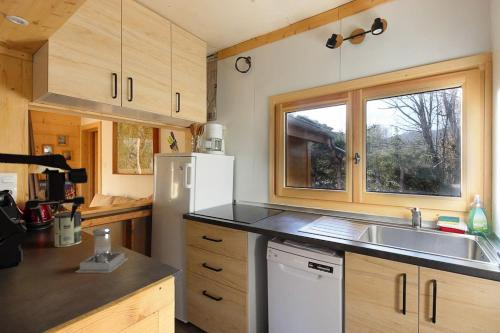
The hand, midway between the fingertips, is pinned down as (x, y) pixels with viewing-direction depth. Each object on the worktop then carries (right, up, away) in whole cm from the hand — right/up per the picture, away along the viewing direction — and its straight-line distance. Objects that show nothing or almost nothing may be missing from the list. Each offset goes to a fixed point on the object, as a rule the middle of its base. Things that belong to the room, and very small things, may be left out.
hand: (57, 222), depth 100 cm
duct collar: (+25, -13, -11) cm, 30 cm away
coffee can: (-6, -13, +14) cm, 20 cm away
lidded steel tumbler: (+25, -13, -11) cm, 30 cm away
